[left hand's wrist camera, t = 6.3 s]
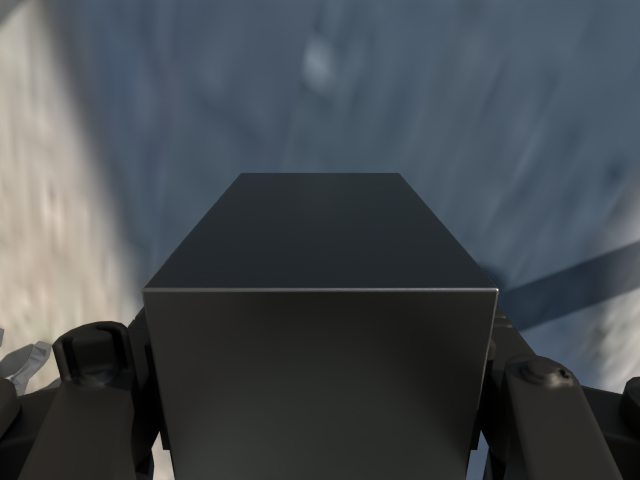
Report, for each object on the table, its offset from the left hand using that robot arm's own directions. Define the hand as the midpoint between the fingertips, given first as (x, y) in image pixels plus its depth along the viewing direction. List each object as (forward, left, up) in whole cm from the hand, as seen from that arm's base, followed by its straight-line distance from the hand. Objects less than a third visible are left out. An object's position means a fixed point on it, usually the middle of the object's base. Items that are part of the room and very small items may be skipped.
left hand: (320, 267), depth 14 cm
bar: (+14, +4, -1) cm, 15 cm away
